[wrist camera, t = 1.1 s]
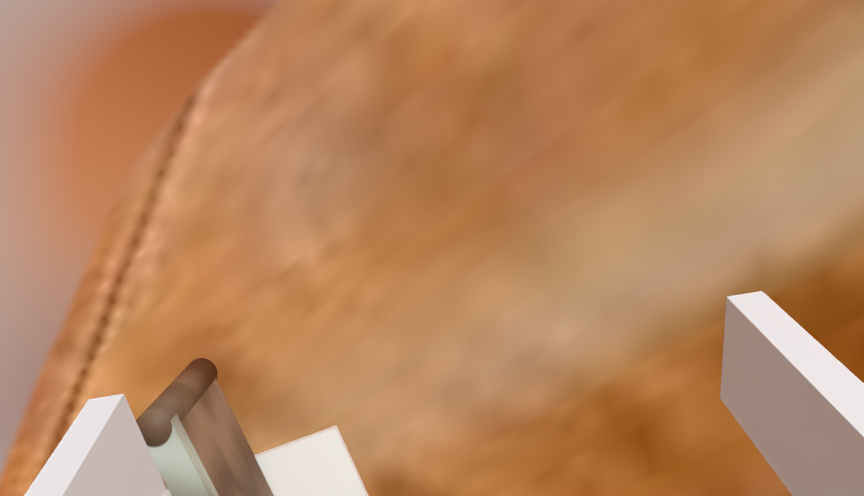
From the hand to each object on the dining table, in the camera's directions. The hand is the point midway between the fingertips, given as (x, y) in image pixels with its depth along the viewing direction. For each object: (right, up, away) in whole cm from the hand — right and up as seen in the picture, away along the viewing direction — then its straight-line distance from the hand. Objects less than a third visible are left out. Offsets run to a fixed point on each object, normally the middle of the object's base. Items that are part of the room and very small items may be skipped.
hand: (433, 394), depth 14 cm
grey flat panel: (-12, -9, +26) cm, 30 cm away
